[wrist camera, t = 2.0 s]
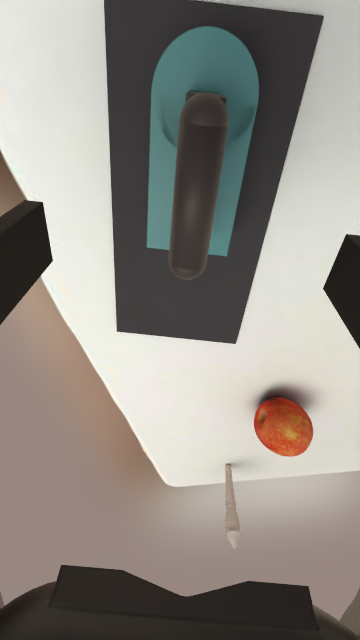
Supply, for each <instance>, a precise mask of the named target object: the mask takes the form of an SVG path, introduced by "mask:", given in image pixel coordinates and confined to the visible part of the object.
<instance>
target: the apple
mask: <svg viewBox="0 0 360 640" xmlns="http://www.w3.org/2000/svg"><path fill="white" fill-rule="evenodd" d="M254 428H255V432H256V434H257V436H258V438H259V440H260V441H261V442H262V443H263V445H264V446H266V447H267V448H268V449H269V450H271V451H273V452H274V453H276V454H279V455H282V456H297V455H300V454H302V453H303V452H304V451H305V450H306V449H307V448H308V446H309V445H310V443H311V440H312V437H313V427H312V423H311V420H310V418H309V416H308V415H307V413H306V412H305V411H304V410H303V408H302V407H300V406H299V405H298V404H297V403H295V402H293V401H291V400H289V399H286V398H281V397H273V398H269V399H267V400H265V401H264V402H263V403H262V404H261V405H260V406H259V408H258V409H257V411H256V414H255V418H254Z"/></svg>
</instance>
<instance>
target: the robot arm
mask: <svg viewBox="0 0 360 640" xmlns="http://www.w3.org/2000/svg"><path fill="white" fill-rule="evenodd" d="M52 261H53V259H52V254H51V248H50V242H49V236H48V230H47V224H46V219H45V213H44V207H43V202H36V201H26V200H24V201H23V202H21V203H20V204H19V205H17V206H16V207H14V208H13V209H11V210H10V211H8V212H7V213H5V214H4V215H2V216H1V217H0V325H1V323H2V322H3V321H4V320H5V318H6V317H7V316H8V315H9V314H10V312H11V311H12V310H13V309H14V307H15V306H16V305H17V304H18V302H19V301H20V300H21V299H22V297H23V296H24V295H25V294H26V293H27V292H28V290H29V289H30V288H31V286H33V284H34V283H35V282H36V281H37V279H38V278H39V277H40V276H41V275H42V273H43V272H44V271H45V270H46V268H47V267H48V266H49V265H50V264H51V262H52ZM323 289H324V291H325V292H326V294H327V296H328V297H329V299H330V301H331V302H332V304H333V306H334V307H335V309H336V310H337V312H338V314H339V315H340V317H341V319H342V320H343V322H344V324H345V325H346V327H347V329H348V330H349V332H350V334H351V335H352V337H353V338H354V340H355V342H356V343H357V345H358V347H359V348H360V236H359V235H349V234H346V236H345V238H344V241H343V243H342V245H341V248H340V250H339V252H338V255H337V257H336V259H335V262H334V264H333V267H332V269H331V271H330V274H329V276H328V278H327V281H326V283H325V285H324V288H323ZM0 640H360V588H359V590H358V592H357V595H356V597H355V598H354V600H353V601H352V603H351V604H350V606H349V607H348V609H347V610H346V611H345V612H344V614H343V616H342V618H341V620H340V621H338V620H337V619H335V618H334V617H333V616H331V615H330V614H328V613H326V612H324V611H323V610H321V609H319V608H318V607H316V606H314V605H312V600H311V596H310V591H309V587H308V586H299V585H288V584H277V583H265V582H253V581H247V582H243V583H239V584H236V585H232V586H228V587H224V588H221V589H217V590H213V591H209V592H206V593H202V594H198V595H194V596H189V597H184V596H180V595H178V594H175V593H173V592H171V591H168V590H166V589H164V588H162V587H159V586H157V585H155V584H153V583H150V582H148V581H146V580H143V579H141V578H139V577H137V576H134V575H132V574H130V573H128V572H125V571H123V570H115V569H103V568H91V567H79V566H68V565H61V568H60V571H59V575H58V578H57V581H55V582H51V583H47V584H45V585H42V586H40V587H37V588H35V589H32V590H30V591H28V592H26V593H25V594H23V595H21V596H19V597H17V598H16V599H14V600H12V601H11V602H9V603H8V604H7V605H5V606H4V603H3V600H2V596H1V593H0Z"/></svg>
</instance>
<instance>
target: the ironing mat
mask: <svg viewBox="0 0 360 640" xmlns="http://www.w3.org/2000/svg"><path fill="white" fill-rule="evenodd" d="M104 10H105V35H106V61H107V87H108V112H109V138H110V164H111V189H112V215H113V241H114V266H115V292H116V318H117V332H127V333H137V334H146V335H156V336H165V337H175V338H185V339H194V340H204V341H213V342H223V343H233V344H236V341H237V337H238V333H239V330H240V326H241V322H242V319H243V315H244V311H245V307H246V304H247V300H248V296H249V293H250V289H251V285H252V281H253V278H254V274H255V270H256V266H257V263H258V259H259V255H260V252H261V248H262V244H263V240H264V237H265V233H266V229H267V226H268V222H269V218H270V214H271V211H272V207H273V203H274V199H275V196H276V192H277V188H278V185H279V181H280V177H281V173H282V170H283V166H284V162H285V159H286V155H287V151H288V147H289V144H290V140H291V136H292V132H293V129H294V125H295V121H296V118H297V114H298V110H299V106H300V103H301V99H302V95H303V92H304V88H305V84H306V80H307V77H308V73H309V69H310V65H311V62H312V58H313V54H314V51H315V47H316V43H317V39H318V36H319V32H320V28H321V25H322V21H323V16H319V15H311V14H303V13H294V12H286V11H278V10H270V9H261V8H253V7H245V6H236V5H228V4H220V3H211V2H203V1H195V0H104ZM203 26H213V27H217V28H221V29H224V30H226V31H228V32H230V33H232V34H233V35H235V36H236V37H237V38H238V39H239V40H241V42H242V43H243V44H244V45H245V46H246V48H247V49H248V51H249V52H250V54H251V56H252V58H253V61H254V63H255V66H256V69H257V74H258V80H259V98H258V105H257V110H256V115H255V120H254V125H253V130H252V135H251V140H250V145H249V150H248V155H247V160H246V165H245V170H244V175H243V180H242V185H241V190H240V195H239V200H238V205H237V210H236V215H235V220H234V225H233V229H232V234H231V239H230V244H229V249H228V254H227V256H219V255H210V254H208V257H207V264H206V267H205V269H204V271H203V272H202V274H201V275H199V276H198V277H197V278H194V279H191V280H184V279H181V278H179V277H177V276H176V275H175V274H174V273H173V272H172V271H171V269H170V267H169V250H164V249H154V248H147V219H148V185H149V152H150V118H151V89H152V81H153V76H154V73H155V69H156V67H157V64H158V62H159V60H160V58H161V56H162V54H163V53H164V51H165V50H166V49H167V47H168V46H169V45H170V44H171V43H172V42H173V41H174V40H175V39H176V38H177V37H179V36H180V35H181V34H183V33H185V32H187V31H189V30H191V29H194V28H197V27H203Z"/></svg>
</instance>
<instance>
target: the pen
mask: <svg viewBox="0 0 360 640" xmlns="http://www.w3.org/2000/svg"><path fill="white" fill-rule="evenodd" d="M225 529H226V535H227V537H228V539H229V541H230V543H231V545H232V546H233V548H234V549H235V548H236V546H237V544H238V541H239V538H240V536H241V533H240V525H239V520H238V516H237V512H236V503H235V496H234V489H233V482H232V473H231V467H230V465H229V464H228V465H226V519H225Z"/></svg>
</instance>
